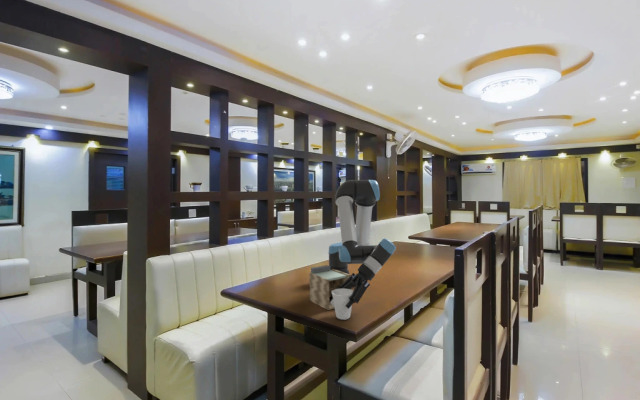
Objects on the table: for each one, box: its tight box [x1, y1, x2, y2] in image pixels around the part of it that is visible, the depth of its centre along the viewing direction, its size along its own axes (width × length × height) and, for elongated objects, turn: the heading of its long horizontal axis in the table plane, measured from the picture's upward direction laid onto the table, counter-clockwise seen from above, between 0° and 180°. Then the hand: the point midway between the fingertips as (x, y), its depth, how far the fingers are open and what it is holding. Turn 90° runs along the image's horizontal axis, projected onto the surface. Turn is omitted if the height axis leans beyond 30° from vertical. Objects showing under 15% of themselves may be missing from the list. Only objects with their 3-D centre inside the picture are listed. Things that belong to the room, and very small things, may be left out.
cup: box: [331, 289, 354, 321], centre depth 137 cm, size 10×10×11 cm
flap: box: [308, 264, 347, 281], centre depth 158 cm, size 15×12×3 cm
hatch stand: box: [309, 269, 353, 311], centre depth 156 cm, size 16×15×14 cm
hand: (336, 308), depth 136 cm, fingers closed on cup, 9 cm apart
